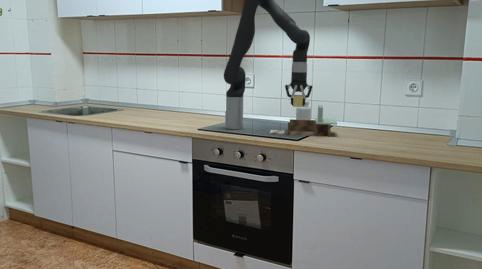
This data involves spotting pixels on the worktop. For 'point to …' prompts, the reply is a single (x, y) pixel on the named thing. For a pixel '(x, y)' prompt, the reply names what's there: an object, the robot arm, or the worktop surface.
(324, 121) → the pale grey l-shaped piece
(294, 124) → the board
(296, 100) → the block
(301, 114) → the pill bottle
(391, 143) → the worktop surface
